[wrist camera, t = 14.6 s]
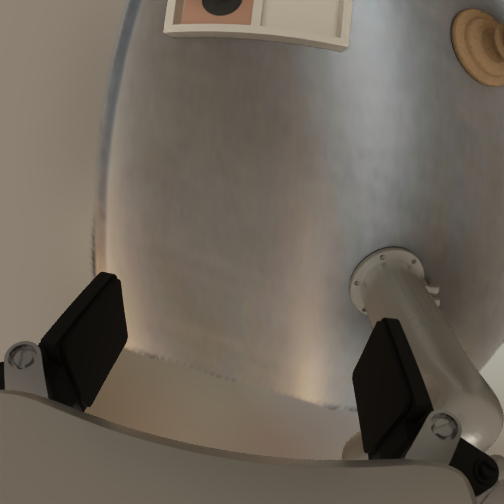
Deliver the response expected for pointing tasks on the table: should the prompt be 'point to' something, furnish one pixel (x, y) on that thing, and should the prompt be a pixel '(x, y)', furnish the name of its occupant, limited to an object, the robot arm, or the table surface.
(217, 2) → the sundae
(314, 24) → the carrier tray
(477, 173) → the table surface
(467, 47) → the candle holder
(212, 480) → the robot arm
